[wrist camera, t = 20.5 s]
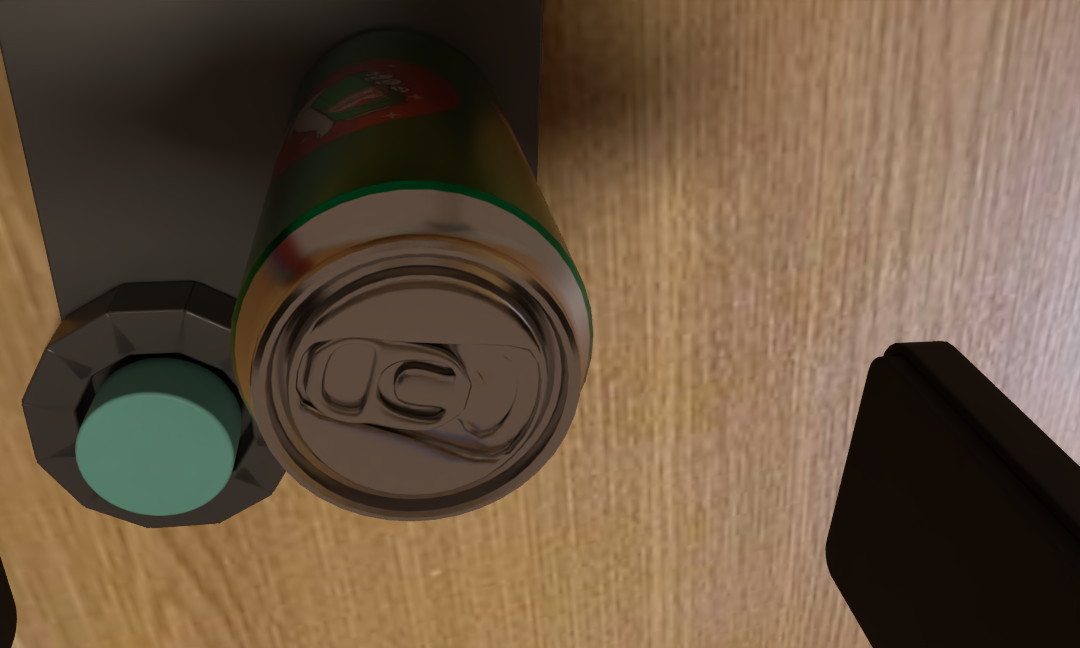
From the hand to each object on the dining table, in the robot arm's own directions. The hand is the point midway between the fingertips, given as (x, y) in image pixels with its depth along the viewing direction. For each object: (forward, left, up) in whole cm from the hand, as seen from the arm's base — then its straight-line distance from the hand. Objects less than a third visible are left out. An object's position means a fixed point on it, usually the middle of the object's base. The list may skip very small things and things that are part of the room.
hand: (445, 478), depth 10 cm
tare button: (+8, -6, -13) cm, 16 cm away
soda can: (0, 0, -15) cm, 15 cm away
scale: (+3, -3, -16) cm, 16 cm away
